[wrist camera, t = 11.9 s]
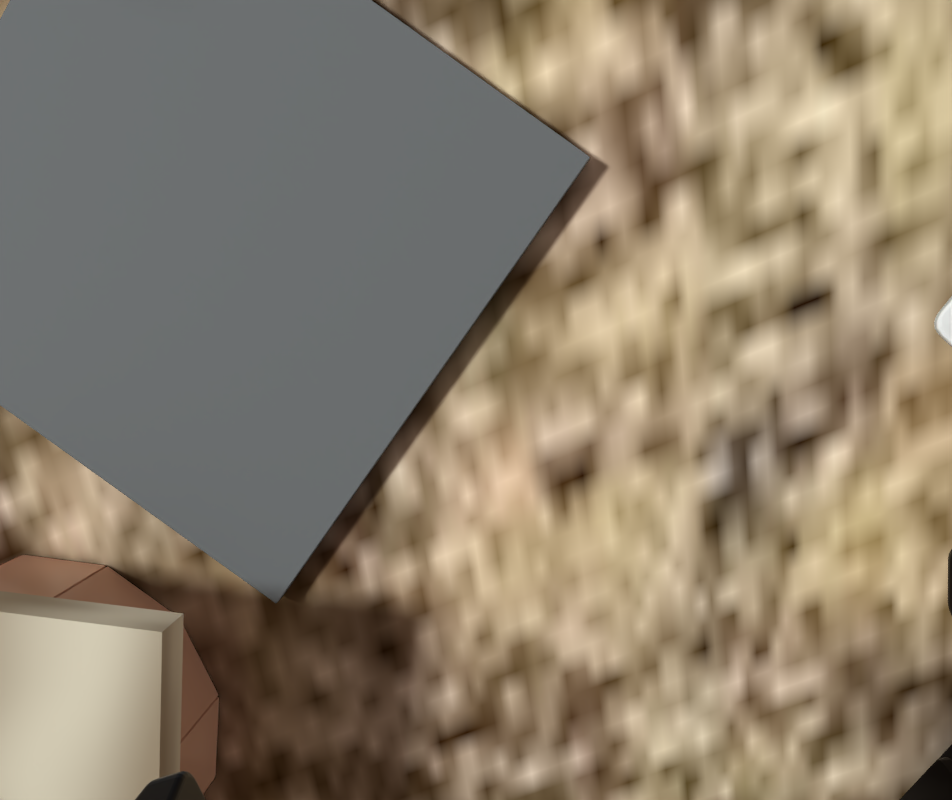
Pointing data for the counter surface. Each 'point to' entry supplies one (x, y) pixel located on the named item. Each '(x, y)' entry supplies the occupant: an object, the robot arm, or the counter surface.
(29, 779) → the square lid with knob
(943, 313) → the cell phone
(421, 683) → the counter surface
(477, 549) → the counter surface
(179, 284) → the rubber mat
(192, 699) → the terracotta bowl
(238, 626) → the counter surface
